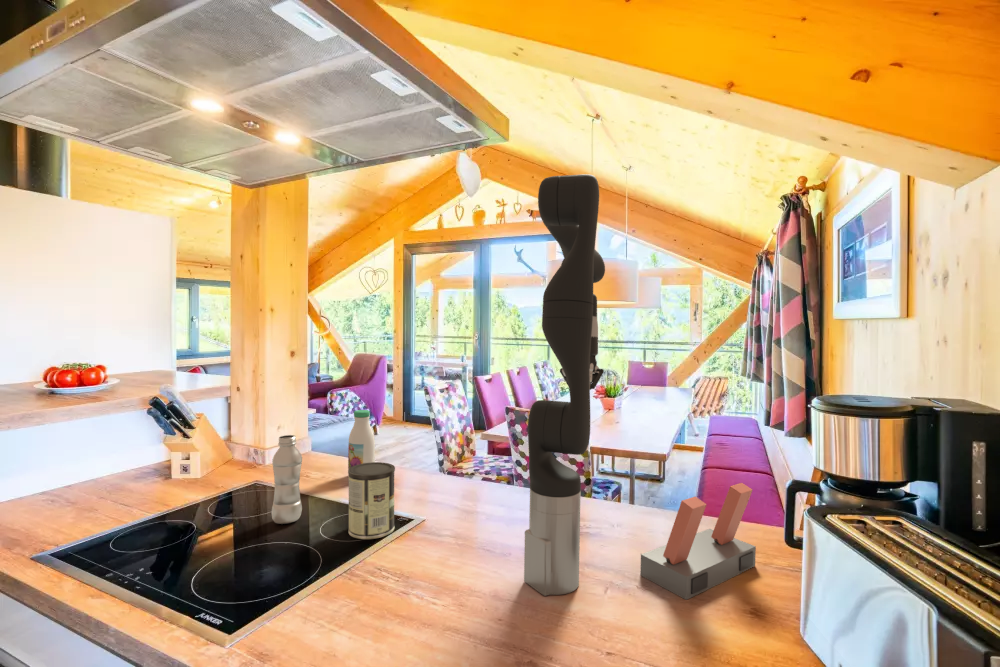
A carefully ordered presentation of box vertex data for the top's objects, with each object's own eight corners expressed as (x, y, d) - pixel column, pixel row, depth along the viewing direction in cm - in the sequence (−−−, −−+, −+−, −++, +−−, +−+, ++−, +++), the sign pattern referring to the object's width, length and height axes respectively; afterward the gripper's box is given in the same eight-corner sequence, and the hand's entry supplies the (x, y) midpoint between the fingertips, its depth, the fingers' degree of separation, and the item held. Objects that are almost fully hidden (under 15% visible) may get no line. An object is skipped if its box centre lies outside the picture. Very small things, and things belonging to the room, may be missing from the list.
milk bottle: (367, 471, 158) (368, 407, 157) (378, 477, 152) (379, 411, 152) (344, 475, 153) (344, 410, 153) (354, 482, 147) (355, 414, 147)
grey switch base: (687, 600, 87) (688, 577, 87) (640, 575, 95) (640, 554, 95) (756, 566, 99) (757, 546, 99) (709, 547, 108) (709, 528, 107)
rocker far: (720, 546, 99) (741, 493, 96) (709, 538, 101) (729, 485, 98) (732, 542, 102) (752, 489, 98) (721, 533, 104) (740, 482, 100)
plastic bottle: (265, 523, 117) (265, 438, 116) (289, 514, 123) (289, 432, 122) (284, 529, 114) (284, 441, 113) (308, 519, 120) (308, 435, 119)
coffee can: (371, 517, 121) (371, 459, 121) (403, 527, 116) (404, 466, 116) (337, 532, 112) (337, 470, 112) (371, 543, 107) (371, 478, 107)
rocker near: (672, 566, 91) (692, 508, 88) (661, 557, 93) (681, 500, 90) (686, 561, 93) (706, 504, 90) (675, 551, 95) (694, 495, 92)
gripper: (573, 333, 116) (572, 409, 115) (612, 336, 123) (612, 407, 122) (551, 335, 122) (550, 407, 121) (590, 337, 130) (590, 405, 128)
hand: (582, 407), depth 122 cm, fingers closed
